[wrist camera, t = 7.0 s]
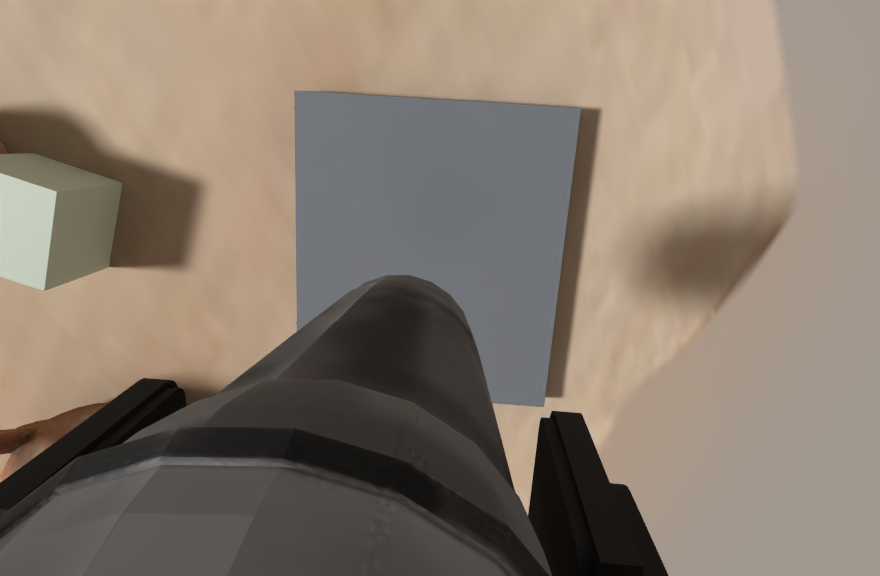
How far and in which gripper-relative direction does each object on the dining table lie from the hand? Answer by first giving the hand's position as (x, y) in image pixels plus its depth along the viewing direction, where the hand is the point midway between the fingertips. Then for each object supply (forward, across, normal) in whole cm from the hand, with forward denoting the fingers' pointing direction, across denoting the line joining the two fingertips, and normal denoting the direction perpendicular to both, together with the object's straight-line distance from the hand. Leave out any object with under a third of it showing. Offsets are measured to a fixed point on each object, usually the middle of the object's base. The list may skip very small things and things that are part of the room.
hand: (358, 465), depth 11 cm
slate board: (+20, 0, 0) cm, 20 cm away
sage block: (+20, +20, -1) cm, 28 cm away
